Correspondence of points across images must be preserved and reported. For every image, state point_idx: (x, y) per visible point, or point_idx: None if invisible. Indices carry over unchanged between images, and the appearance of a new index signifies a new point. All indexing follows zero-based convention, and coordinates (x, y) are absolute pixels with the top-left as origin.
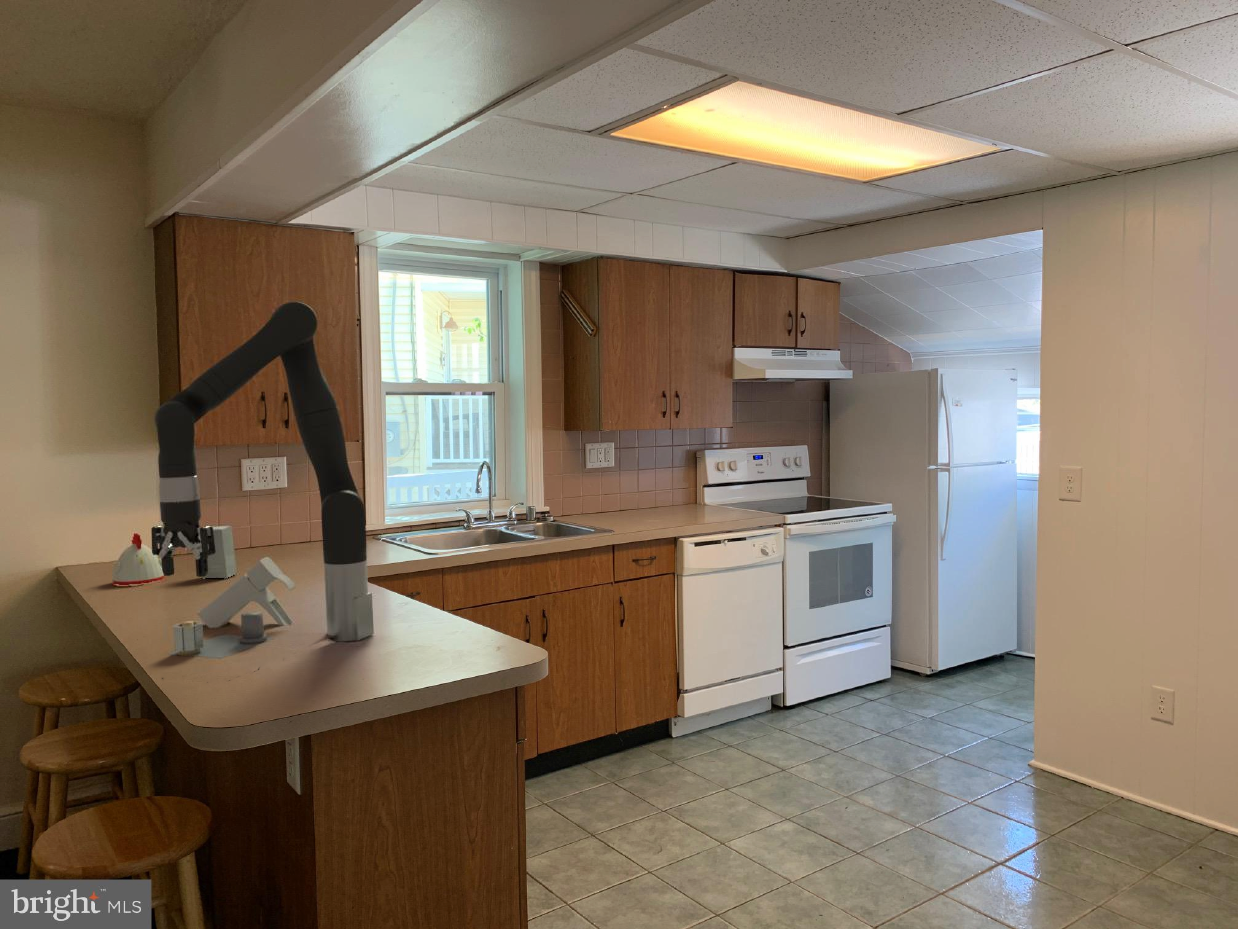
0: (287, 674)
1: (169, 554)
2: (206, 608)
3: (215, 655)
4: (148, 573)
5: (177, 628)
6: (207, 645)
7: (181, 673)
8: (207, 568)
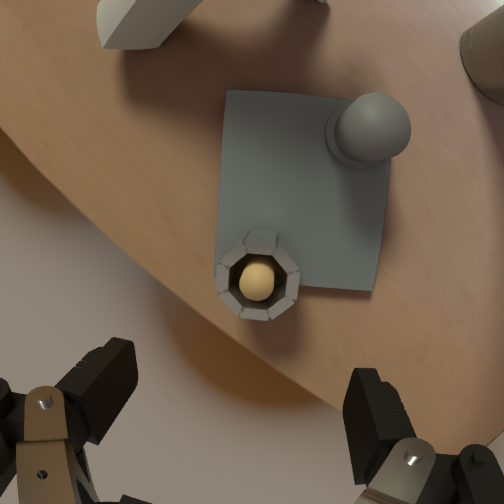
0: (498, 315)
1: (71, 426)
2: (119, 31)
3: (346, 273)
4: None
5: (252, 318)
6: (262, 191)
7: (322, 351)
8: (398, 400)
